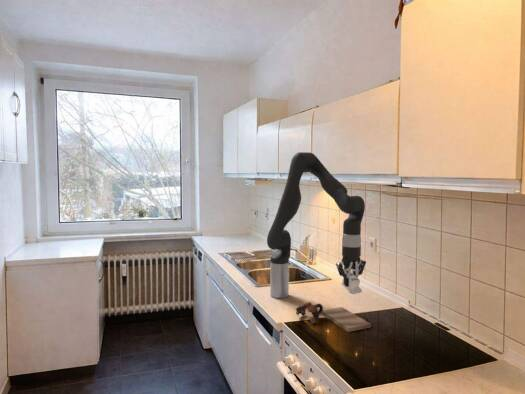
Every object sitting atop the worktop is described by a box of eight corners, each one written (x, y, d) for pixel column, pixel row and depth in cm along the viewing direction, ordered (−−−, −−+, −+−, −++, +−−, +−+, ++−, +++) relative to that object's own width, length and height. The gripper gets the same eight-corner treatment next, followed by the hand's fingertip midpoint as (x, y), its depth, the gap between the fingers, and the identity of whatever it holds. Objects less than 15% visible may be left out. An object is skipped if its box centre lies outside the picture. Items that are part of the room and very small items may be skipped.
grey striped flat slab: (321, 313, 167) (321, 310, 167) (341, 310, 171) (341, 307, 171) (348, 331, 149) (348, 328, 149) (370, 327, 153) (370, 323, 153)
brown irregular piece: (306, 327, 154) (298, 308, 156) (298, 328, 163) (290, 310, 165) (330, 315, 159) (321, 296, 161) (321, 317, 168) (313, 299, 170)
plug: (340, 282, 160) (342, 271, 158) (347, 281, 161) (349, 270, 160) (354, 297, 151) (357, 286, 149) (362, 296, 152) (365, 285, 150)
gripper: (359, 241, 161) (358, 281, 163) (331, 244, 156) (331, 285, 157) (371, 245, 154) (370, 286, 156) (342, 247, 149) (341, 290, 150)
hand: (350, 285), depth 156 cm, fingers closed on plug, 3 cm apart
